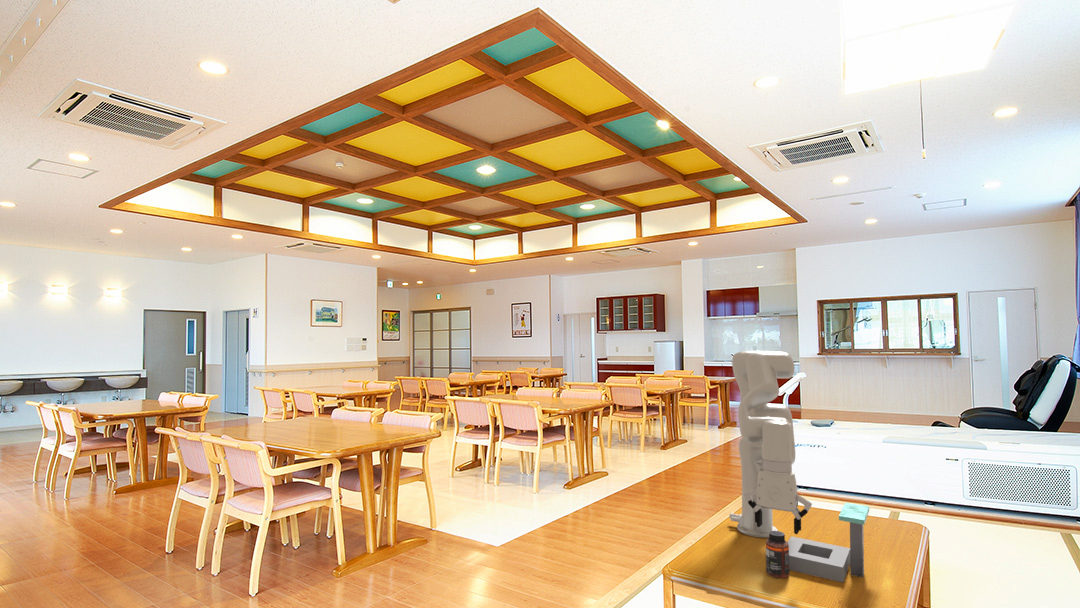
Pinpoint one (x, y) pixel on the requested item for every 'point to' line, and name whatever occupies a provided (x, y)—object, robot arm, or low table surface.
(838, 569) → the socket block
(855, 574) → the teal-capped gray pillar
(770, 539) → the supplement bottle
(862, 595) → the low table surface
